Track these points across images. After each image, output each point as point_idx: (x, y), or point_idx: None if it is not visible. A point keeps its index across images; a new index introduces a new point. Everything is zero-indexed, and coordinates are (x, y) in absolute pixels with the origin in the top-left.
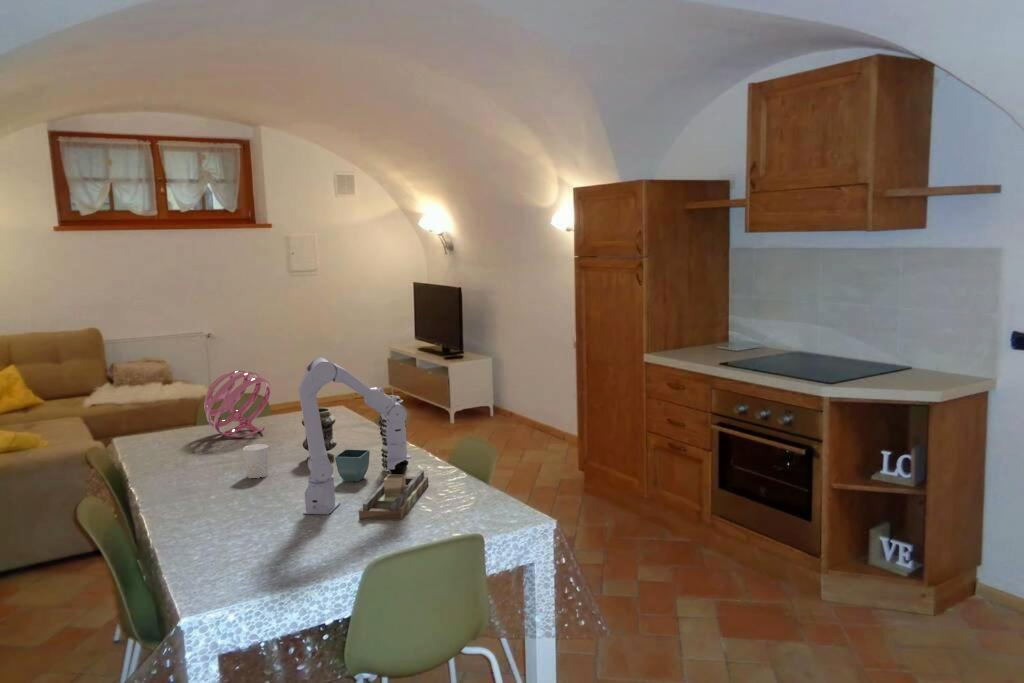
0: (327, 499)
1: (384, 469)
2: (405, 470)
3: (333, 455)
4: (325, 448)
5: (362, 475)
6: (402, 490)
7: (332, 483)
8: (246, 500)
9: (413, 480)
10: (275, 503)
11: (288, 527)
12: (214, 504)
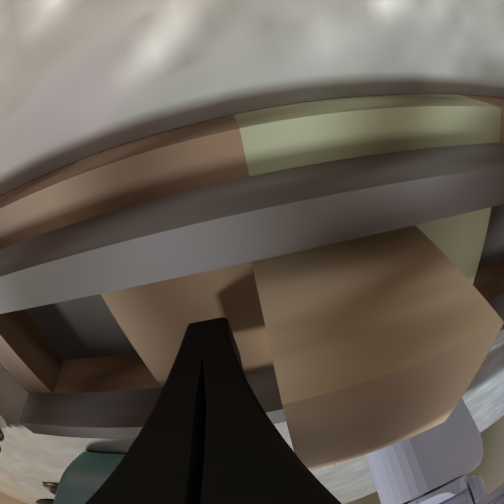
0: (452, 421)
1: (4, 425)
2: (133, 446)
3: (45, 484)
4: None
5: (103, 463)
6: (379, 243)
7: (438, 472)
8: (328, 488)
9: (96, 273)
10: (347, 470)
11: (497, 377)
12: (348, 490)
